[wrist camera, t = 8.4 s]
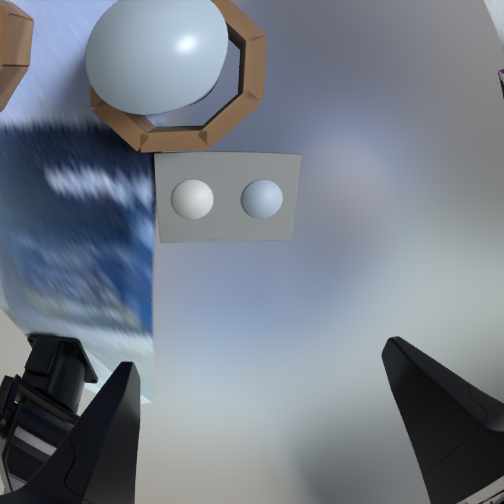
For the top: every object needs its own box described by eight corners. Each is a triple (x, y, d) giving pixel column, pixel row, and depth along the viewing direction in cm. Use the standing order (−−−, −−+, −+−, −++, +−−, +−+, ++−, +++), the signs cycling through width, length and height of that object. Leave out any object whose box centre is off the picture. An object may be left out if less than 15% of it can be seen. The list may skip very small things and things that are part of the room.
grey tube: (217, 106, 16) (224, 112, 8) (144, 108, 15) (84, 122, 7) (221, 37, 14) (232, -17, 6) (146, 40, 13) (91, -4, 5)
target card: (290, 238, 21) (292, 241, 20) (160, 240, 19) (160, 243, 19) (300, 154, 18) (302, 155, 17) (155, 153, 17) (153, 154, 16)
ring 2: (252, 142, 17) (260, 150, 14) (110, 147, 16) (93, 156, 13) (260, 8, 13) (269, -7, 10) (113, 15, 12) (97, 2, 9)
